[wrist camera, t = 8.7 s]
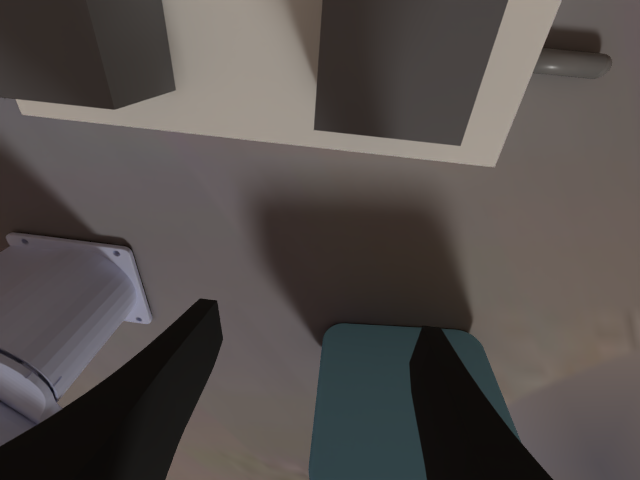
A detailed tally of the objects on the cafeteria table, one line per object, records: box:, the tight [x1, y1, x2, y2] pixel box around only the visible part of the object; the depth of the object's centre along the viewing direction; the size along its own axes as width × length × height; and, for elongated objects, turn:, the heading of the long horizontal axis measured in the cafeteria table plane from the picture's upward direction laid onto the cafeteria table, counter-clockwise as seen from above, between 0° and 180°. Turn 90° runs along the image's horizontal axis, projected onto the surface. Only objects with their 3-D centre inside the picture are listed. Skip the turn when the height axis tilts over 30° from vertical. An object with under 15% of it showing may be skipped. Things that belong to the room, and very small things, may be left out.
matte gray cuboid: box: [0, 0, 176, 110], centre depth 13 cm, size 5×5×7 cm
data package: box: [309, 323, 521, 480], centre depth 22 cm, size 12×4×12 cm, turn 92°
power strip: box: [16, 0, 612, 167], centre depth 12 cm, size 28×9×7 cm, turn 85°
